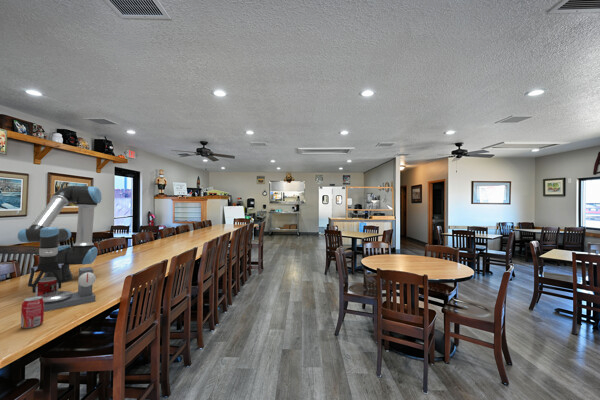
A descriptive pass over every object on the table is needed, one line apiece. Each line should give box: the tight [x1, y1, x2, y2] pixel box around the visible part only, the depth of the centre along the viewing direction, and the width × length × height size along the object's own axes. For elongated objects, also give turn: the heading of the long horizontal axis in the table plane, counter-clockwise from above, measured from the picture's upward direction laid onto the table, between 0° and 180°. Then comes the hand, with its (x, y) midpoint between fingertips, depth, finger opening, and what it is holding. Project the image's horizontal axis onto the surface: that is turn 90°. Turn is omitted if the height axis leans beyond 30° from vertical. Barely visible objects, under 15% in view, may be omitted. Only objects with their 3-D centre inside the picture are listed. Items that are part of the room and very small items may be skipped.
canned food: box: [37, 277, 57, 296], centre depth 146 cm, size 8×8×11 cm
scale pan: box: [40, 290, 73, 302], centre depth 138 cm, size 14×14×2 cm
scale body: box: [44, 266, 97, 313], centre depth 141 cm, size 14×24×17 cm, turn 138°
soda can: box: [20, 295, 45, 329], centre depth 116 cm, size 7×7×12 cm
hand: (46, 296), depth 146 cm, fingers closed on canned food, 8 cm apart
